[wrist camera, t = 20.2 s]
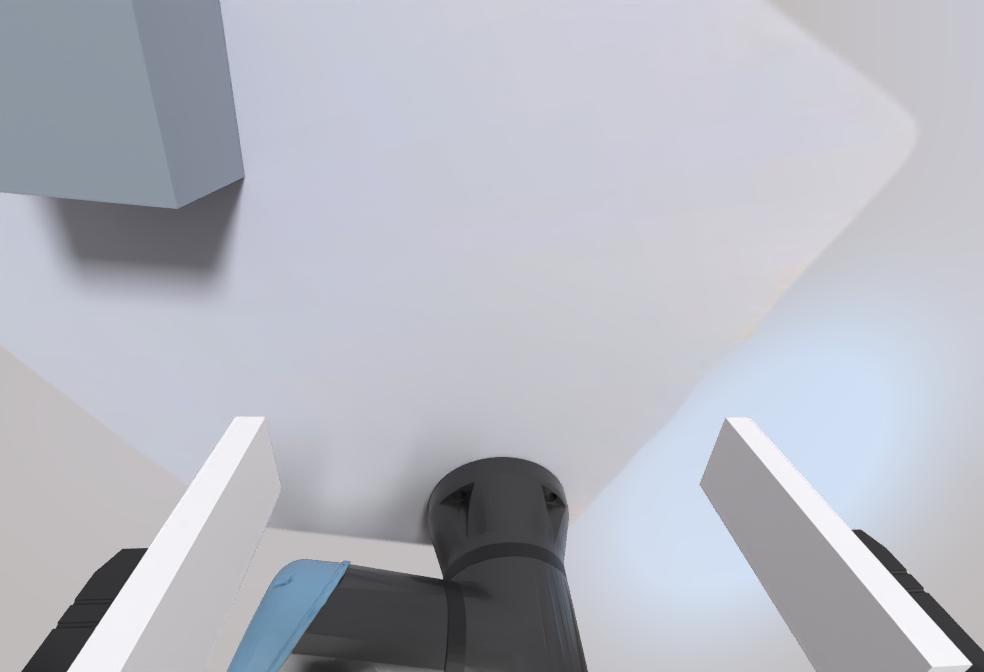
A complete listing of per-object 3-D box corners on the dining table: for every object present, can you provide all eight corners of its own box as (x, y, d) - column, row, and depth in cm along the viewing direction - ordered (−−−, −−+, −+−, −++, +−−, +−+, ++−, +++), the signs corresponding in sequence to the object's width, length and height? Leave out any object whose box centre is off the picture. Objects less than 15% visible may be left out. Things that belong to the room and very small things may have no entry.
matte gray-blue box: (244, 176, 32) (177, 208, 24) (84, 160, 30) (-40, 188, 23) (218, -3, 27) (123, -34, 19) (26, -32, 25) (-158, -77, 18)
